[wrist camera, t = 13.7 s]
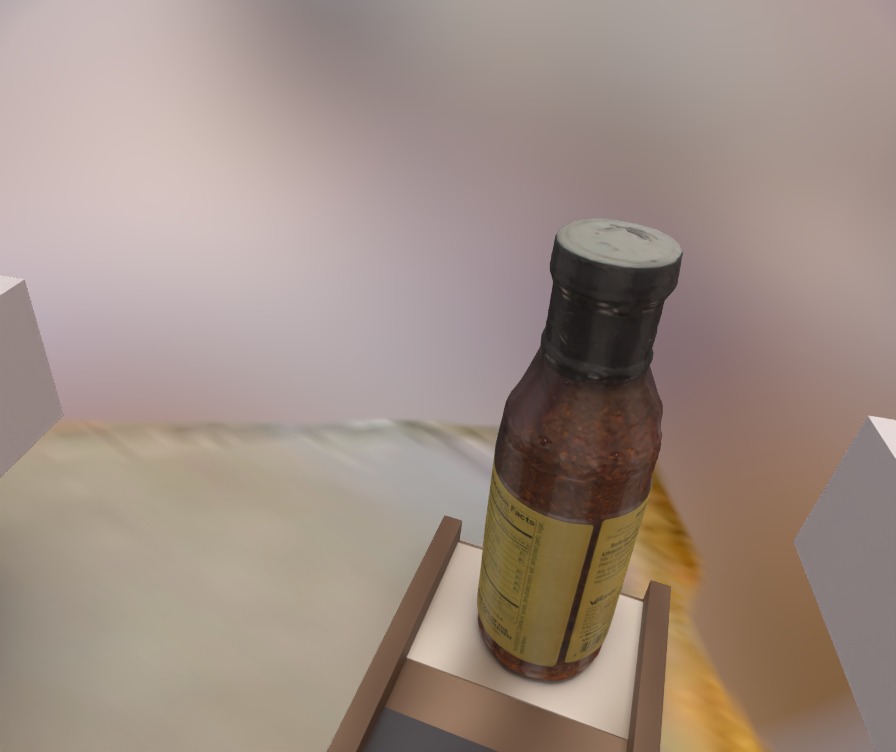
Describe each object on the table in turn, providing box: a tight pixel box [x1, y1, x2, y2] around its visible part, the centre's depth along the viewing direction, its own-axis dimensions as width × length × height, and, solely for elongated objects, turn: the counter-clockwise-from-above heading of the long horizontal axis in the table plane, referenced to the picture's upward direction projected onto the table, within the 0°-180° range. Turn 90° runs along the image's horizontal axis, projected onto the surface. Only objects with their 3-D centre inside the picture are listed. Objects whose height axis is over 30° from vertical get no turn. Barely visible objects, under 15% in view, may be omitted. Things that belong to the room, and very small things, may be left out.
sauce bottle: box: [477, 218, 683, 681], centre depth 26 cm, size 7×6×20 cm
